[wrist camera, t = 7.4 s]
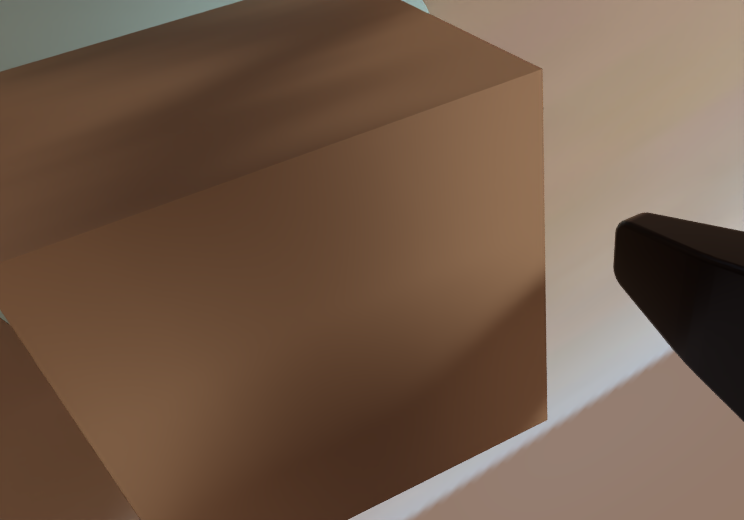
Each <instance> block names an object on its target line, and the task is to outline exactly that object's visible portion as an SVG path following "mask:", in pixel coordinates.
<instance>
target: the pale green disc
mask: <svg viewBox="0 0 744 520" xmlns="http://www.w3.org/2000/svg"><path fill="white" fill-rule="evenodd" d="M239 1H242V0H0V72H1V71H4V70H8V69H11V68H15V67H18V66H21V65H25V64H28V63H32V62H35V61H38V60H42V59H45V58H49V57H52V56H55V55H59V54H62V53H66V52H69V51H72V50H76V49H79V48H83V47H86V46H89V45H93V44H96V43H100V42H103V41H106V40H110V39H113V38H117V37H120V36H123V35H127V34H130V33H134V32H137V31H140V30H144V29H147V28H151V27H154V26H157V25H161V24H164V23H168V22H171V21H174V20H178V19H181V18H185V17H188V16H191V15H195V14H198V13H202V12H205V11H208V10H212V9H215V8H219V7H222V6H225V5H229V4H232V3H236V2H239ZM402 1H404V2H406V3H408V4H410V5H412V6H414V7H416V8H418V9H420V10H422V11H424V12H426V13H429V12H428V9H427V7H426V5H425V4H424V2H423V1H422V0H402ZM0 318H1V319H3V320H4V321H5V322H7V323H8V324H9V322H8V321H7V319H6V318H5V316H4V315H3V313H2V312H1V310H0Z"/></svg>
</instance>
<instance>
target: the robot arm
mask: <svg viewBox="0 0 744 520" xmlns="http://www.w3.org/2000/svg"><path fill="white" fill-rule="evenodd" d="M613 267H614V274H615V276H616V279H617V281H618V282H619V284H620V285H621V287H622V288H623V289H624V290H625V292H626V293H627V294H628V295H629V296H630V298H631V299H632V300H633V301H634V302H635V304H636V305H637V306H638V307H639V309H640V310H641V311H642V312H643V313H644V315H645V316H646V317H647V318H648V320H649V321H650V322H651V323H652V324H653V326H654V327H655V328H656V329H657V330H658V332H659V333H660V334H661V335H662V337H663V338H664V339H665V340H666V341H667V343H668V344H669V345H670V346H671V348H672V349H673V350H674V351H675V352H676V353H677V354H678V356H680V358H681V359H682V360H683V361H684V362H685V363H686V365H687V366H689V368H690V369H691V370H692V371H693V372H694V373H695V374H696V375H697V376H698V377H699V378H700V379H701V380H702V381H703V382H704V383H705V384H706V385H707V386H708V387H709V388H710V389H711V390H712V391H713V392H714V393H715V394H716V395H717V396H718V397H719V398H720V399H721V400H722V401H723V402H724V403H725V404H727V406H728V407H729V408H731V410H733V411H734V412H735V413H736V415H738V416H739V417H740V418H741V419H742V420H743V421H744V231H738V230H733V229H728V228H723V227H718V226H713V225H708V224H703V223H698V222H693V221H688V220H683V219H678V218H673V217H668V216H663V215H658V214H652V213H640V214H638V215H635V216H633V217H631V218H628V219H626V220H624V221H622V222H621V223H619V224H618V226H617V228H616V232H615V248H614V265H613Z"/></svg>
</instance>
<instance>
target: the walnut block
mask: <svg viewBox="0 0 744 520" xmlns="http://www.w3.org/2000/svg"><path fill="white" fill-rule="evenodd" d="M0 310H1V312H2V313H3V315H4V316H5V318H6V319H7V321H8V322H9V324H10V325H11V327H12V328H13V330H14V331H15V333H16V334H17V336H18V337H19V339H20V340H21V342H22V343H23V345H24V346H25V348H26V349H27V351H28V352H29V354H30V355H31V357H32V358H33V360H34V361H35V363H36V364H37V366H38V367H39V369H40V370H41V372H42V373H43V375H44V376H45V378H46V379H47V381H48V382H49V384H50V385H51V387H52V388H53V390H54V391H55V393H56V394H57V396H58V397H59V399H60V400H61V402H62V403H63V405H64V406H65V408H66V409H67V411H68V412H69V414H70V415H71V417H72V418H73V420H74V421H75V423H76V424H77V426H78V427H79V429H80V430H81V432H82V433H83V435H84V436H85V438H86V439H87V441H88V442H89V444H90V445H91V447H92V448H93V450H94V451H95V453H96V454H97V456H98V457H99V459H100V460H101V462H102V463H103V465H104V466H105V468H106V469H107V471H108V472H109V474H110V475H111V477H112V478H113V479H114V481H115V482H116V484H117V485H118V487H119V488H120V490H121V491H122V493H123V494H124V496H125V497H126V499H127V500H128V502H129V503H130V505H131V506H132V508H133V509H134V511H135V512H136V514H137V515H138V517H139V518H140V520H348V519H350V518H352V517H354V516H356V515H358V514H360V513H362V512H364V511H366V510H368V509H370V508H372V507H374V506H376V505H378V504H380V503H382V502H384V501H386V500H388V499H390V498H392V497H394V496H396V495H398V494H400V493H402V492H404V491H406V490H408V489H410V488H412V487H414V486H416V485H418V484H420V483H422V482H424V481H426V480H428V479H430V478H432V477H434V476H436V475H438V474H440V473H442V472H444V471H446V470H448V469H450V468H452V467H454V466H456V465H458V464H460V463H462V462H464V461H466V460H468V459H470V458H472V457H474V456H476V455H478V454H480V453H482V452H484V451H486V450H488V449H490V448H492V447H494V446H496V445H498V444H500V443H502V442H504V441H506V440H508V439H510V438H512V437H514V436H516V435H518V434H520V433H522V432H524V431H526V430H528V429H530V428H532V427H534V426H536V425H538V424H540V423H542V422H544V421H546V420H547V367H546V294H545V222H544V149H543V76H542V69H541V68H539V67H537V66H535V65H533V64H531V63H529V62H527V61H525V60H523V59H521V58H519V57H517V56H515V55H513V54H511V53H509V52H507V51H505V50H502V49H500V48H498V47H496V46H494V45H492V44H490V43H488V42H486V41H484V40H482V39H480V38H478V37H476V36H474V35H472V34H470V33H468V32H465V31H463V30H461V29H459V28H457V27H455V26H453V25H451V24H449V23H447V22H445V21H443V20H441V19H439V18H437V17H435V16H433V15H431V14H429V13H426V12H424V11H422V10H420V9H418V8H416V7H414V6H412V5H410V4H408V3H406V2H404V1H402V0H242V1H239V2H236V3H232V4H229V5H225V6H222V7H219V8H215V9H212V10H208V11H205V12H202V13H198V14H195V15H191V16H188V17H185V18H181V19H178V20H174V21H171V22H168V23H164V24H161V25H157V26H154V27H151V28H147V29H144V30H140V31H137V32H134V33H130V34H127V35H123V36H120V37H117V38H113V39H110V40H106V41H103V42H100V43H96V44H93V45H89V46H86V47H83V48H79V49H76V50H72V51H69V52H66V53H62V54H59V55H55V56H52V57H49V58H45V59H42V60H38V61H35V62H32V63H28V64H25V65H21V66H18V67H15V68H11V69H8V70H4V71H1V72H0Z"/></svg>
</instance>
